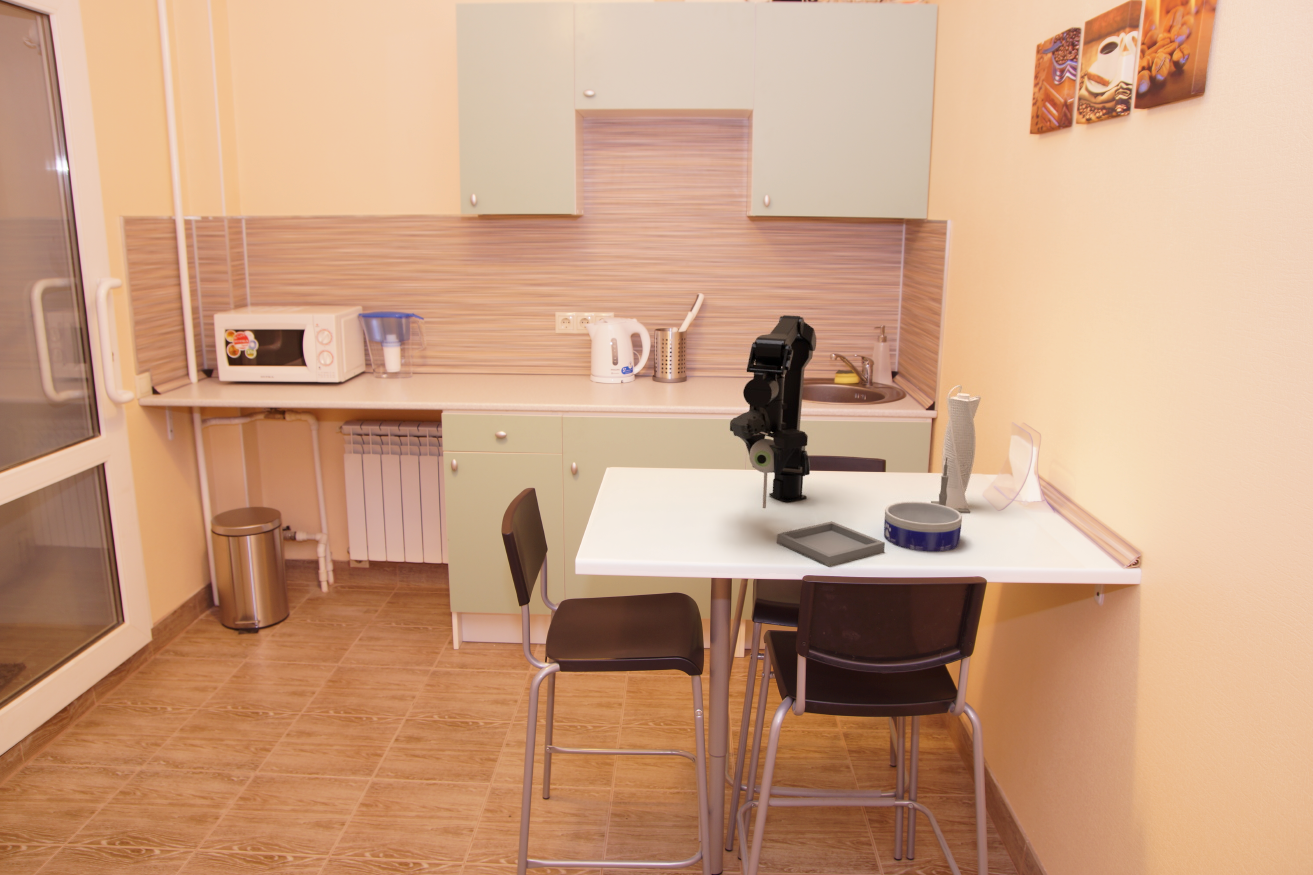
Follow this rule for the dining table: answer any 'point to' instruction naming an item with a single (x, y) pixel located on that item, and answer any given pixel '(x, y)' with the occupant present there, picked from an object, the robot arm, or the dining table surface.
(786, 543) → the tray
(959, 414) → the skyscraper
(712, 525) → the dining table surface
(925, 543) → the dog bowl
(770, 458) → the lollipop
